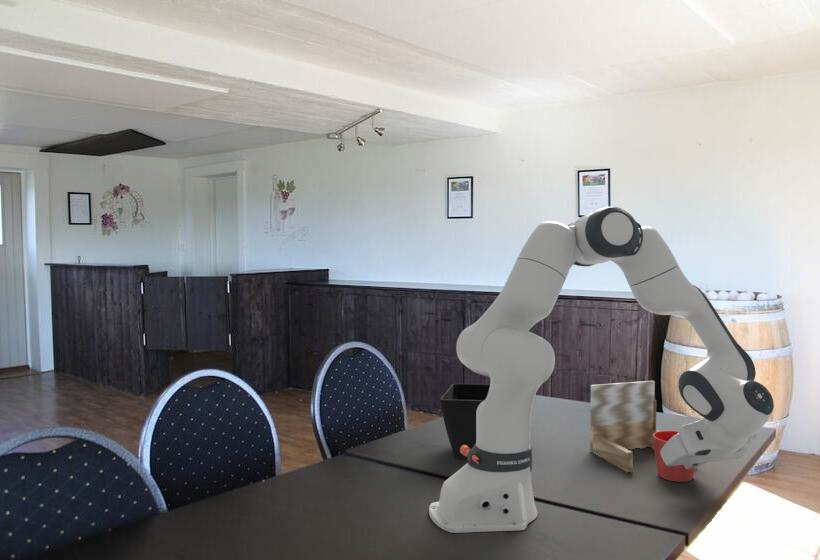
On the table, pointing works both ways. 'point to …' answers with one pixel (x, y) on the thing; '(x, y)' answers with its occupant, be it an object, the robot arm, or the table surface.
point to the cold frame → (622, 420)
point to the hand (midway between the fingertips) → (689, 465)
